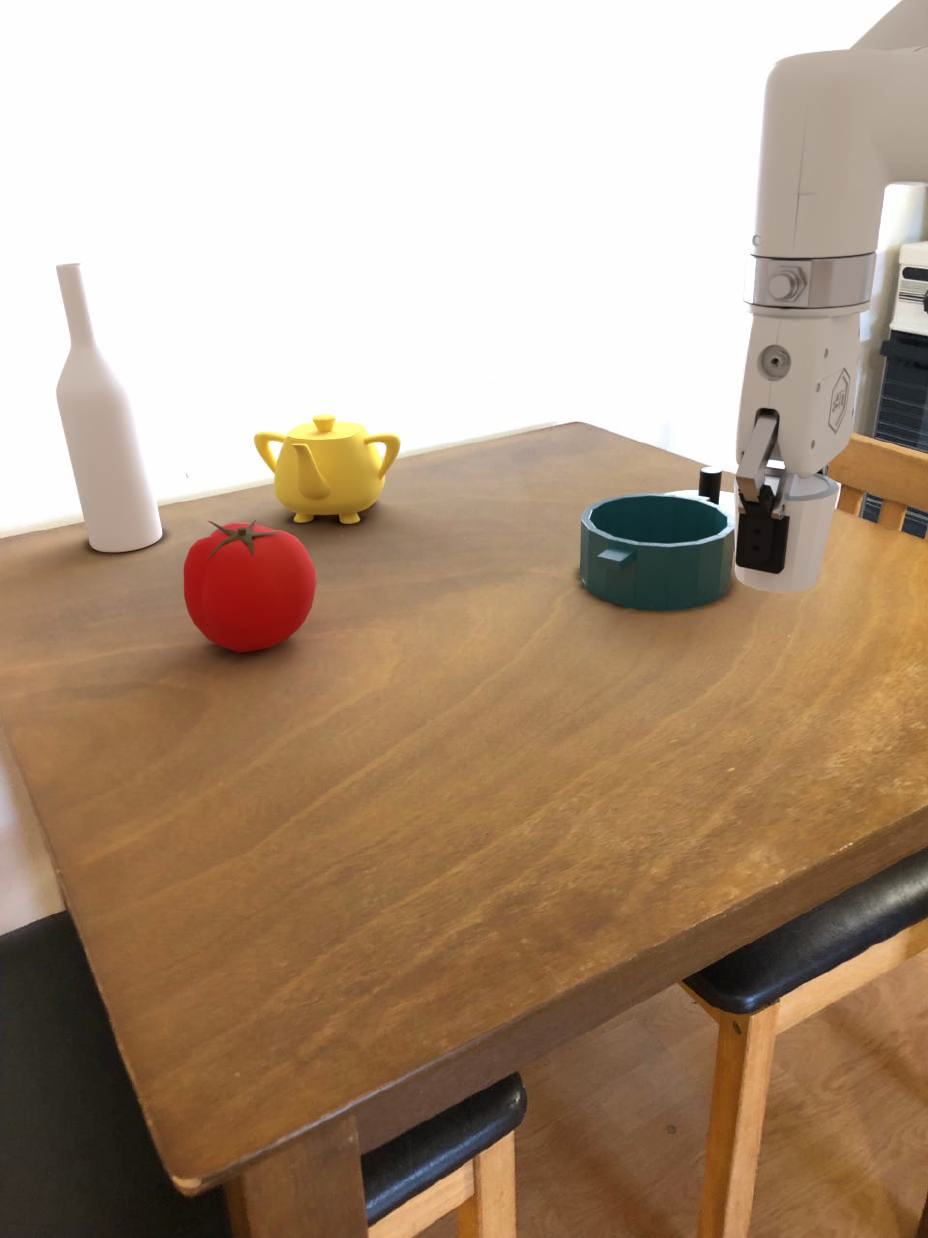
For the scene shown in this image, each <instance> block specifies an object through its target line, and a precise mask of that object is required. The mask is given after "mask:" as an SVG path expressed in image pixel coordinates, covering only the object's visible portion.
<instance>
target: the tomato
mask: <svg viewBox="0 0 928 1238" xmlns="http://www.w3.org/2000/svg"><path fill="white" fill-rule="evenodd" d="M256 521H257V519H255V520H253V522H250V523H249V522H230V523H227V524H225V525H222V526H221V525H220V524H217V523H215V522H213V521H212V520H211V521H210V520H207V522H208V523H210V524H211V525H213V526H214V527H216V528H217V529H215V530H214V531H212V532H211V534H210V535H209V536H207V537H203V538H199V539H197V540H196V541H195V542H194V543H193V544H192V545H191V547H190V548H189V549H188V552H187V555H186V558H185V560H184V562H183V598H184V602H185V605H186V609H187V613H188V615H189V617H190V619H191V621H192V623H193V624H194V626H195V627H196V628H197V629H198V630H199V631H200V632H201V634H202V635H203V636H204V637H205V638H206V639H207V640H208V641H210V642H212V643H213V644H215V645H217V646H219V647H222V648H225V649H227V650H230V651H233V652H236V653H239V654H240V653H241V654H242V653H249V652H254V651H259V650H265V649H269V648H271V647H273V646H276V645H278V644H280V643H283V642H285V641H286V640H287V639H289V638H290V637H291V636H293V634H294V633H296V632H297V631H298V630H299V629H300V628H301V627H302V625H303V624H304V622H306V620H307V618H308V615H309V614H310V612H311V609H312V608H313V603H314V599H315V594H316V587H317V575H316V569H315V564H314V563H313V560H312V558H311V556H310V554H309V552H308V550H307V548H306V546H305V545H304V544H303V543H302V541H300V539H299V538H298V537H297V536H296V535H293V534H291V533H289V532H287V531H286V530H282V529H281V530H278V529H277V530H274V529H273V528H271V527H268V526H264V525H260V524H256Z"/></svg>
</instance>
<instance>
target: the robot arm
mask: <svg viewBox="0 0 928 1238" xmlns="http://www.w3.org/2000/svg"><path fill="white" fill-rule="evenodd" d="M757 109H758V110H757V120H756V121H757V124H756V137H755V147H754V148H755V149H754V160H753V161H754V163H753V175H752V188H751V200H750V201H751V202H750V213H749V226H748V238H747V240H748V241H747V250H746V251H747V252H746V261H745V262H746V263H745V275H744V287H743V302H742V310H743V311H744V312H746V313H749V314H751V315H752V316H751V321H750V327H749V332H748V338H747V344H746V350H745V357H744V363H743V370H742V379H741V386H740V393H739V402H738V410H737V411H738V412H737V419H736V420H737V422H736V433H735V434H736V437H735V461H736V463H737V465H738V467H737V470H736V473H735V479H736V481H737V484H738V487H739V489H738V492H739V493H738V495H739V498H740V500H739V505H738V512H739V522H738V534H737V545H736V557H735V556H734V563H735V562H736V564H737V565H738V566H739V567H743V568H748V569H753V570H758V571H763V572H768V573H772V574H779V573H781V571H782V570H783V569H784V566H785V557H786V548H787V539H788V530H789V521H790V516H785V515H784V514H785V510H786V506H787V502H788V498H789V494H790V490H791V486H792V482H793V478H794V474H798V477H799V478H800V479H807V478H809V477H811V476H813V475H814V474H815V473H818V474H822V475H825V476H827V477H829V476H828V475H829V471H830V462H831V461H833V460H834V459H835V458H836V457H837V456H838V455H840V453H841V452H843V450H844V449H846V448H847V446H848V445H849V443H850V441H851V438H852V432H853V423H854V414H855V405H856V391H857V381H858V380H857V379H858V369H859V356H860V340H861V313H865V312H867V311H868V310H869V311H870V307H871V300H872V295H873V286H874V280H875V271H876V265H877V257H878V248H879V242H880V236H881V235H880V234H881V227H882V222H883V221H882V219H883V212H884V206H885V200H886V199H885V198H886V191H887V187H889V186H890V185H896V186H897V185H904V186H909V187H928V0H900V1H899V2H898V3H897V4H895V5H894V6H893V7H892V8H891V9H890V10H889V11H888V12H887V13H885V14H884V15H883V16H882V17H881V18H879V20H878V21H877V22H875V24H874V25H872V27H870V29H868V30H867V31H866V32H865V33H864V34H863V35H862V36H860V38H858V40H857V41H856V42H855V43H853V44H852V45H851V47H849V48H848V49H847V48H846V49H845V48H844V49H834V50H833V49H832V50H822V51H813V52H805V53H799V54H793V55H790V56H787V57H783V58H781V59H779V60H777V61H775V62H774V63H773V64H772V65H771V66H770V67H769V68H768V69H767V71H766V72H765V74H764V77H763V79H762V82H761V85H760V90H759V98H758V108H757ZM769 461H777V462H783V464H784V468H780V467H773V466H768V463H769ZM765 478H769V479H775V480H779V483H778V487H777V491H776V495H775V496H774V493H773V491H772V488H771V486H770V485H765V480H766V479H765Z"/></svg>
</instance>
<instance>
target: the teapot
mask: <svg viewBox="0 0 928 1238" xmlns="http://www.w3.org/2000/svg"><path fill="white" fill-rule="evenodd" d="M311 419H312V422H305V423H301V424H298V425H296V426H294V427H293V428H292V429H290V430H289V431H288V433H287V434H284V433H280V432H275V431H268V430H267V431H266V430H262V431H259V432H257V433H256V434H255V435H254V437H253V443H254V446H255V449H256V451H257V453H258V455H259V456H260V458H261V459H262V460H263V462H264V463H265V464H266V465H267V467H268V468H269V469H270V470H271V472H272V473H273V474H274V476H273V477H274V479H273V480H274V481H273V488H274V494H275V497H276V499H277V500H278V501H279V503H280V504H281V505H282V506H283V507H284V508H285V509H286V510H288V511H289V512H293V513H296V514H295V516H294V518H293V521H294V522H295V523H308V522H312V521H313V520H314V517H315V516H318V515H319V516H331V515H332V516H333V515H338V518H339V522H340V523H342V524H347V525H348V524H349V525H351V524H355V523H358V522H360V520H361V518H360V516H359V514H358V513H359V512H363V511H365V510H367V509H369V508H370V507H371V506H373V505H374V503H376V502H377V499H378V498H379V496H380V495H381V493H382V491H383V490H384V488H385V483H386V474H387V472H388V471H389V470H390V469H391V467H392V465H393V464H394V462H395V461H396V459H397V457H398V455H399V452H400V450H401V438H400V437H399V435H397V434H395V433H392V432H383V433H375V434H369V432H368V431H367V430H366V428H365V426H363V425H362V424H361V423H359V422H354V421H353V422H351V421H336V415H334V414H331V413H322V414H317V415H314V416H313V417H312V418H311ZM270 442H277V443H282V445H281V448H280V450H279V454H278V457H277V458H276V457H275V455H274V453H273V451H272V449H271V447H270ZM375 443H382V444H384V445H385V453H384V457H383V460H382V458H381V454H380V451H378V449H377V447H376V444H375Z"/></svg>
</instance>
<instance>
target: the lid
mask: <svg viewBox="0 0 928 1238" xmlns="http://www.w3.org/2000/svg"><path fill="white" fill-rule="evenodd" d="M722 477H723V469H722V468H719V467H715V466H705V467H702V468H700V469H699V480H698V489H690V490H689V489H688V490H677V491H670V492H665V493H664V494H675V495H681V496H687V495H688V494H691V495H697V496H703V497H708V498H710V502H711V503H714V504H716V505H719V506H722V507H724V508H725V509H726V510H727V511H729V512H730V513H731V514H732V515H733V516H734V492H729V491H722V490H721V488H722Z"/></svg>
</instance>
